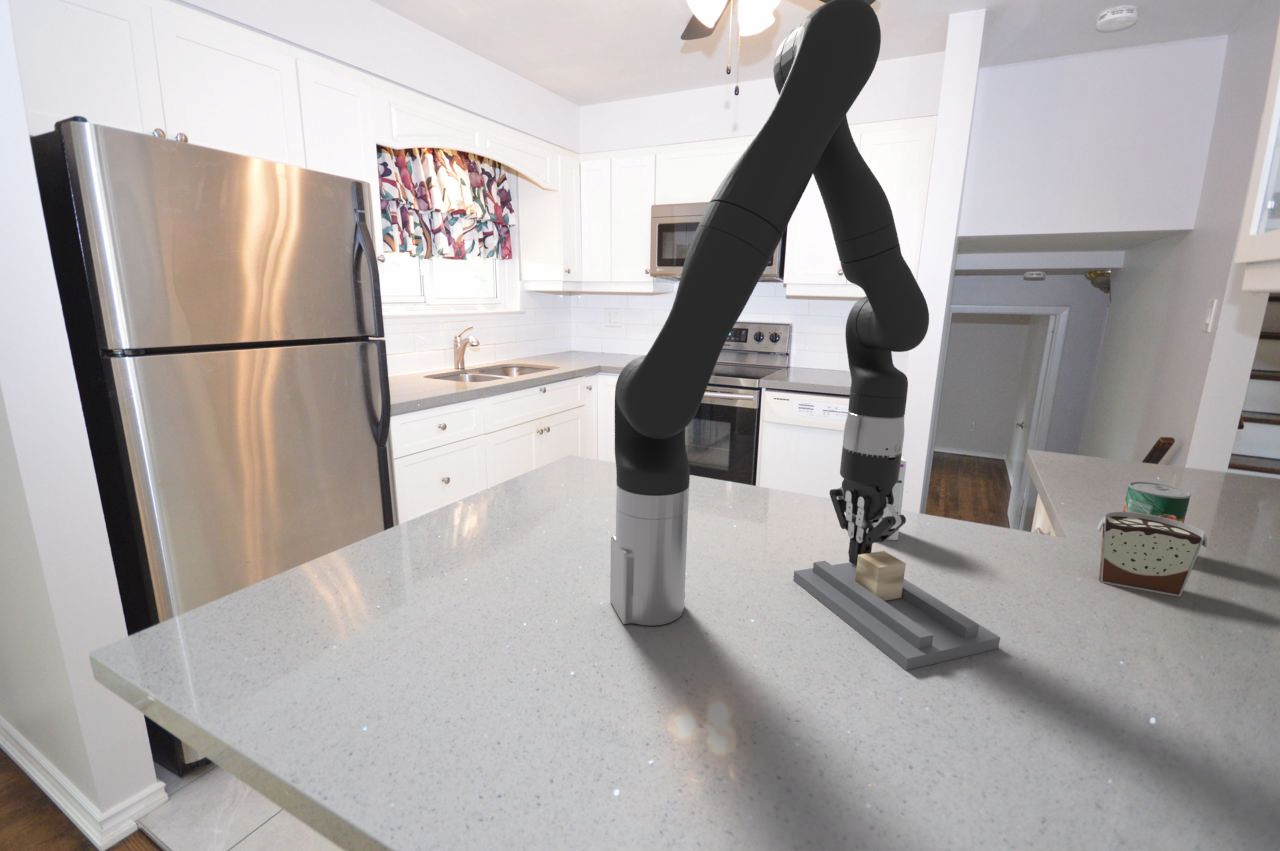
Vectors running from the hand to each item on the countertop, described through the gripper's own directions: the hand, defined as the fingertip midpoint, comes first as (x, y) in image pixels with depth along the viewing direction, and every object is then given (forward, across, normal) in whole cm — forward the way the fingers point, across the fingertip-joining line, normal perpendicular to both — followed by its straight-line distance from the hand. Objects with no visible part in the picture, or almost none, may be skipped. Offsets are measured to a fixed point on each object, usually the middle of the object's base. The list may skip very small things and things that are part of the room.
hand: (858, 564), depth 81 cm
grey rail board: (+4, +6, 0) cm, 7 cm away
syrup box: (+4, -16, +18) cm, 25 cm away
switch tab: (+2, +4, 0) cm, 5 cm away
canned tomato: (+4, +4, +58) cm, 58 cm away
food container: (+4, +10, +43) cm, 44 cm away
